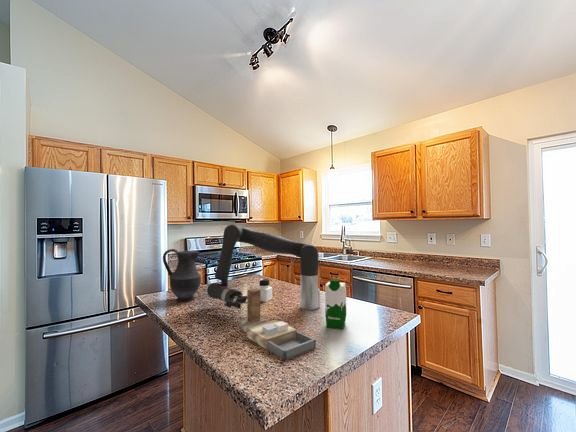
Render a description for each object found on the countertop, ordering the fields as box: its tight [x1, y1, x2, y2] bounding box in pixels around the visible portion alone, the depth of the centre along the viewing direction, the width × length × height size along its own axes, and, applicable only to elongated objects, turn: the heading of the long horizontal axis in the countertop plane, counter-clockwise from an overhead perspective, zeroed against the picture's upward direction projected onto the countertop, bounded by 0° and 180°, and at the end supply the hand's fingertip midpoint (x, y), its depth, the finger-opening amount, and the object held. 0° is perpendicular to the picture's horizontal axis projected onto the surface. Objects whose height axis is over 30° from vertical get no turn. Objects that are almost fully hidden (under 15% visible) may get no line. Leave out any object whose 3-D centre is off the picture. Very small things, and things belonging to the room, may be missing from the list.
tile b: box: [262, 324, 277, 335], centre depth 101 cm, size 4×4×2 cm
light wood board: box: [246, 319, 298, 350], centre depth 104 cm, size 14×14×4 cm
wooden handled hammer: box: [240, 288, 267, 333], centre depth 114 cm, size 4×10×16 cm, turn 129°
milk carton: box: [324, 278, 347, 330], centre depth 117 cm, size 9×9×20 cm
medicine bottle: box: [255, 278, 273, 303], centre depth 157 cm, size 7×7×12 cm
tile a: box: [274, 320, 289, 332], centre depth 104 cm, size 4×4×2 cm
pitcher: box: [162, 248, 202, 303], centre depth 157 cm, size 17×21×30 cm
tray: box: [266, 330, 317, 362], centre depth 94 cm, size 10×14×3 cm
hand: (248, 304), depth 118 cm, fingers open, 8 cm apart
